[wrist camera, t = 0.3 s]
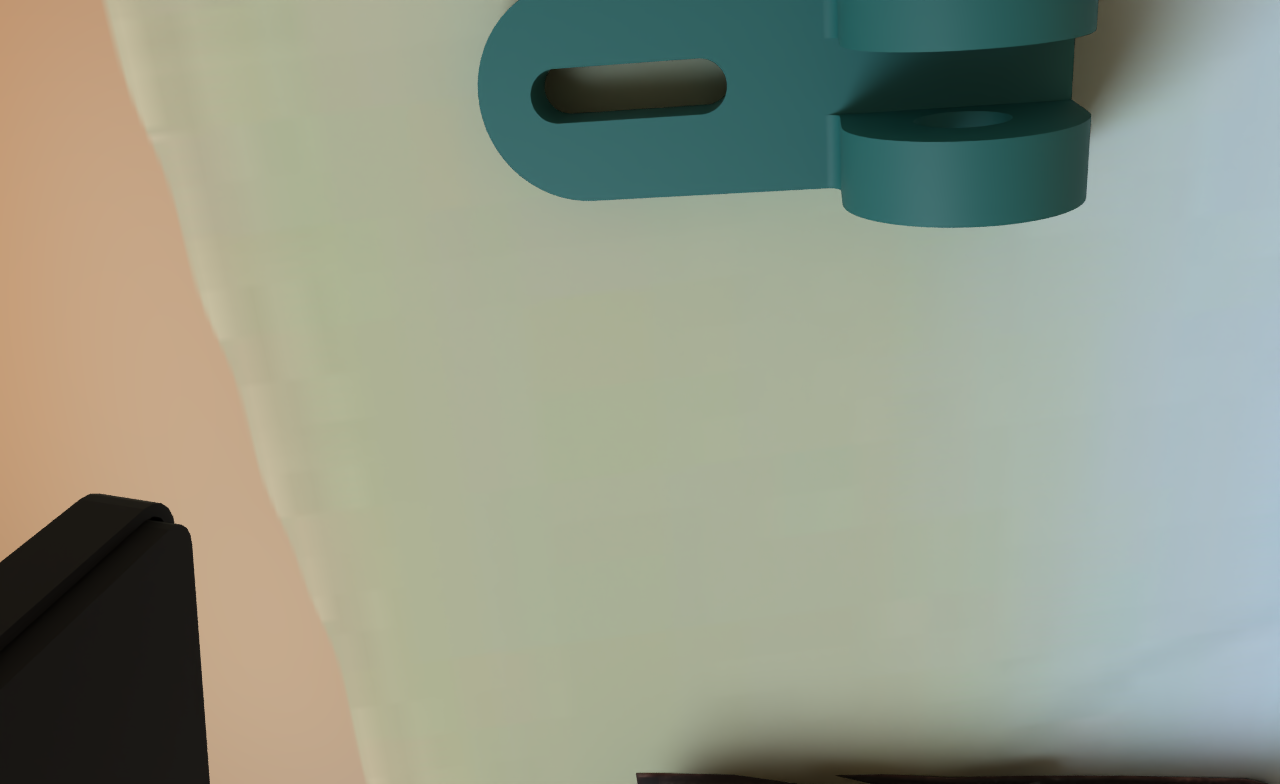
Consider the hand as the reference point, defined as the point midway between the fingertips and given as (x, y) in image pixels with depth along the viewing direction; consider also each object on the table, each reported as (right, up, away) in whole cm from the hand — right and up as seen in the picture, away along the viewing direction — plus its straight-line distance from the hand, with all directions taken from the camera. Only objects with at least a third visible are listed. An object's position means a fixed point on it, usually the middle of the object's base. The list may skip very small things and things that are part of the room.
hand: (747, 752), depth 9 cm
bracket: (+3, +13, +28) cm, 31 cm away
